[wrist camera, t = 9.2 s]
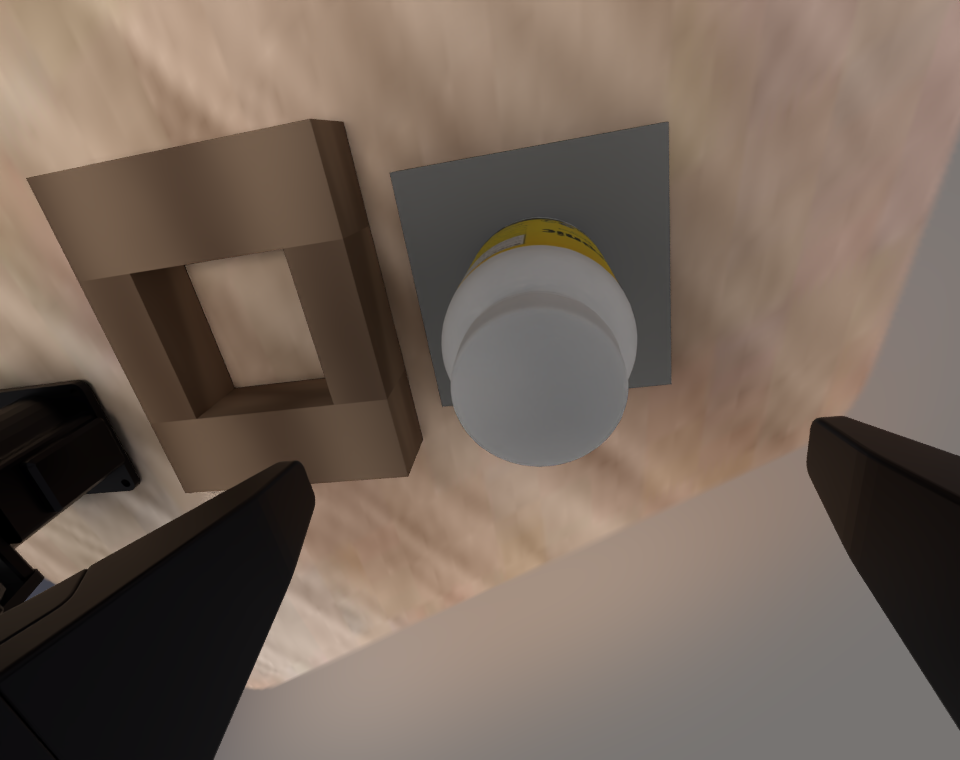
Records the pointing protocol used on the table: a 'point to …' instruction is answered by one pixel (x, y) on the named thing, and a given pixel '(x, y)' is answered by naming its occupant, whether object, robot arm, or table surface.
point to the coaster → (553, 194)
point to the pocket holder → (182, 324)
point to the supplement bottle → (539, 345)
